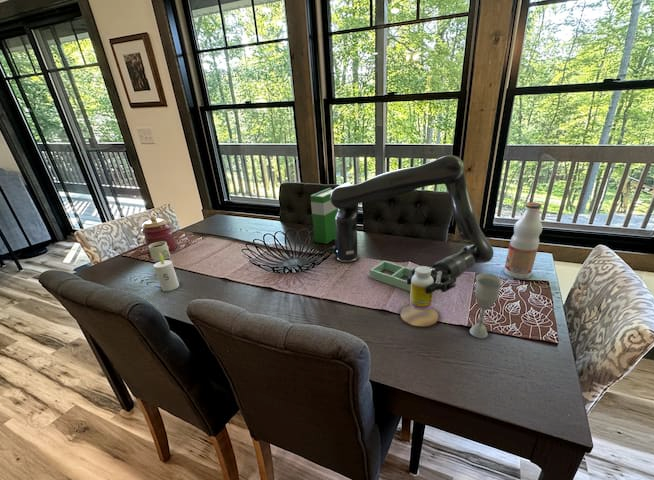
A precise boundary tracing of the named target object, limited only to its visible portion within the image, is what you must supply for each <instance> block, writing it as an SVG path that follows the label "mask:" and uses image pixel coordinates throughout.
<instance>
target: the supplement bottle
mask: <svg viewBox="0 0 654 480" xmlns="http://www.w3.org/2000/svg"><path fill="white" fill-rule="evenodd" d="M418 266H419V267H418ZM418 266H416V267H417V268H416V267H415V268H416V269H415V268H414V269H415V275H413V277H412V279H411V292H410V297H409V305H411V306H412V307H413V308H414V309H417V310H427V309H429V308H432V303H433V292H432V293H429V294H427V293H426V287H427V286H429V285H431V284H433V282H434V280H433V278H432V276H430V275H431V269H430V268H431V267H428V266H426V265H424V266H420V265H418Z"/></svg>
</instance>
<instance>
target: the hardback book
mask: <svg viewBox="0 0 654 480" xmlns="http://www.w3.org/2000/svg"><path fill="white" fill-rule="evenodd" d="M333 190H334V189H332V187H328V188H325V189H323V190H320V191H318V192H316V193H313V194H311V195H309V197H310V206H311V208H310V209H311V219H312V229H313V240H314V241H313V242H314V243H318V244H319V243H320V244H325V245H327V244H329V243H330V242H332V241H333V240H335V238H336V225H335V216H336V214H337V212H338V208H336V207H335V206H333V205H332V203H331V201H330V196H331V193H332V191H333Z"/></svg>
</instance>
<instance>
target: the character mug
mask: <svg viewBox="0 0 654 480" xmlns="http://www.w3.org/2000/svg"><path fill="white" fill-rule="evenodd" d="M148 248H149V250H148V252H149V251H150V252H149V254H150V256H151V260H153V261H154V262H155V263H157V262H160V257H159V252H160V253H161V254H162V256H163V258H164V260H170V261H171V259H170V257H171V251H170V252H169V249H168V246H167V243H166V242H156V243H152V244H150V245H149V246H147V249H148Z"/></svg>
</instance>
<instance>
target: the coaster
mask: <svg viewBox="0 0 654 480" xmlns="http://www.w3.org/2000/svg"><path fill="white" fill-rule="evenodd" d="M399 314H400V318H401V321H403V322H404V323H405V324H407V325H410V326H412V327H416V328H426V327H431V326H434V325H436V324H437V323H438V320H439V313H438V312H437V311H436V310H435V309H434V308H432V307H430V308H429V309H427V310H417V309H414V308H413V307H412V306H411V305H410V304H409V305H406V306H404V307H402V309H401V310H400V313H399Z"/></svg>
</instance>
